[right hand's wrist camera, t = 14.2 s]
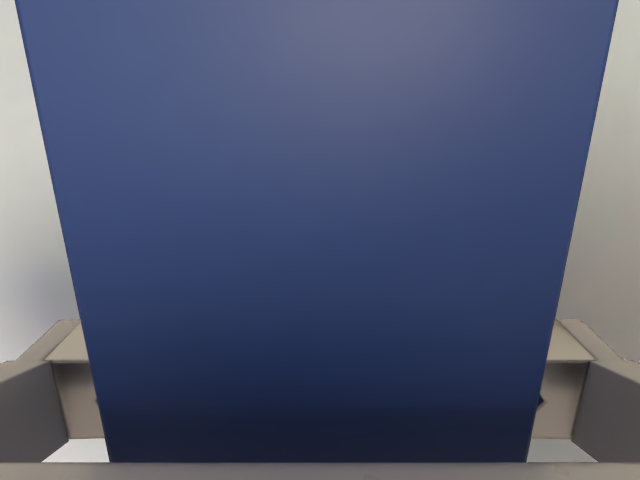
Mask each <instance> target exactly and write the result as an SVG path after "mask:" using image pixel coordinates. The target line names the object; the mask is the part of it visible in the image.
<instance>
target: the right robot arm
mask: <svg viewBox="0 0 640 480" xmlns="http://www.w3.org/2000/svg"><path fill="white" fill-rule="evenodd" d="M88 438H105V436H104V432H103V427H102V422H101V417H100V412H99V407H98V402H97V398H96V393H95V388H94V383H93V378H92V373H91V369H90V364H89V359H88V354H87V349H86V344H85V339H84V335H83V330H82V325H81V320H80V319H74V320H59V321H58V322H57V323H56V324H54V325H53V326H52V327H51V328H50V329H49V330H48V331H47V332H46V333H45V334H44V335H43V336H42V337H40V338H39V339H38V340H37V341H36V342H35V343H34V344H33V345H32V346H31V347H30V348H29V349H28V350H27V351H25V352H24V353H23V354H22V355H21V356H20V357H19V358H18V359H17V360H16V361H6V362H4V363H1V364H0V480H640V364H639V363H636V362H634V361H624V360H623V359H622V358H621V357H620V356H619V355H618V354H617V353H616V352H615V351H614V350H612V349H611V348H610V347H609V346H608V345H607V344H606V343H605V342H604V341H603V340H602V339H601V338H600V337H599V336H597V335H596V334H595V333H594V332H593V331H592V330H591V329H590V328H589V327H588V326H587V325H586V324H585V323H584V322H582V321H580V320H577V319H567V320H555V321H554V326H553V331H552V336H551V341H550V346H549V351H548V356H547V361H546V366H545V371H544V376H543V381H542V386H541V391H540V395H539V400H538V405H537V410H536V415H535V420H534V425H533V430H532V435H531V438H551V439H572V440H571V441H572V442H573V443H575V444H576V445H577V446H579V447H580V448H581V449H582V450H584V451H585V452H586V453H588V454H589V455H590V456H592V457H593V458H594V459H596V460H597V461H598V462H533V463H41V462H42V461H43V460H45V459H46V458H47V457H49V456H50V455H51V454H52V453H54V452H55V451H56V450H58V449H59V448H60V447H62V446H63V445H64V444H66V443H67V442H68V441H69V440H68V439H88Z"/></svg>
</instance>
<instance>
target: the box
mask: <svg viewBox="0 0 640 480" xmlns="http://www.w3.org/2000/svg"><path fill="white" fill-rule="evenodd" d="M618 1H619V0H15V4H16V9H17V14H18V19H19V24H20V29H21V33H22V38H23V43H24V48H25V53H26V58H27V63H28V67H29V72H30V77H31V82H32V87H33V92H34V97H35V101H36V106H37V111H38V116H39V121H40V126H41V131H42V135H43V140H44V145H45V150H46V155H47V160H48V165H49V169H50V174H51V179H52V184H53V189H54V194H55V199H56V203H57V208H58V213H59V218H60V223H61V228H62V233H63V237H64V242H65V247H66V252H67V257H68V262H69V267H70V271H71V276H72V281H73V286H74V291H75V296H76V301H77V305H78V310H79V315H80V320H81V325H82V330H83V335H84V339H85V344H86V349H87V354H88V359H89V364H90V369H91V373H92V378H93V383H94V388H95V393H96V398H97V402H98V407H99V412H100V417H101V422H102V427H103V432H104V436H105V441H106V446H107V451H108V456H109V461H110V463H526V460H527V455H528V450H529V445H530V440H531V435H532V430H533V425H534V420H535V415H536V410H537V405H538V400H539V395H540V391H541V386H542V381H543V376H544V371H545V366H546V361H547V356H548V351H549V346H550V341H551V336H552V331H553V326H554V321H555V316H556V311H557V306H558V301H559V296H560V291H561V286H562V281H563V276H564V271H565V266H566V261H567V256H568V251H569V246H570V241H571V236H572V231H573V226H574V221H575V216H576V211H577V206H578V201H579V196H580V191H581V186H582V181H583V176H584V171H585V166H586V161H587V156H588V151H589V146H590V141H591V136H592V131H593V126H594V121H595V116H596V111H597V106H598V101H599V96H600V91H601V86H602V81H603V76H604V71H605V66H606V61H607V56H608V51H609V46H610V41H611V36H612V31H613V26H614V21H615V16H616V11H617V6H618Z"/></svg>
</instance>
